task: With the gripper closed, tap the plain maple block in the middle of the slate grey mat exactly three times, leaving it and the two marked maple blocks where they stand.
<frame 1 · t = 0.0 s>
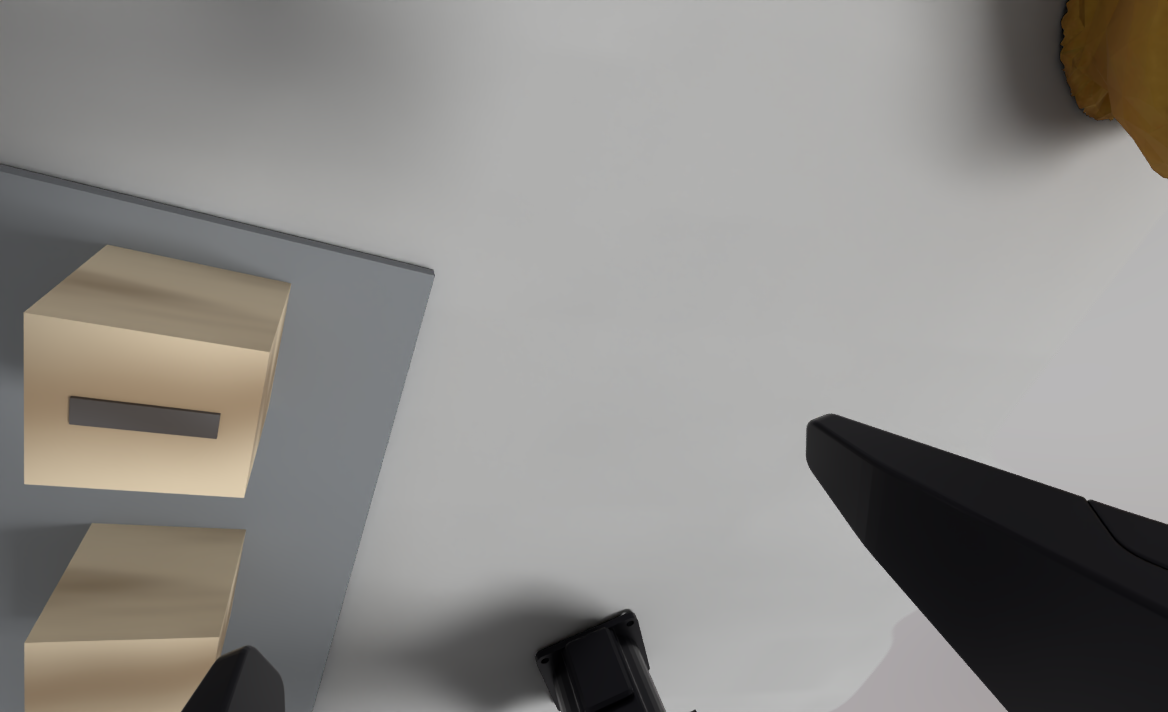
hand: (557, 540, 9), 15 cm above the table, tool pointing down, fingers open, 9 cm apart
mat: (171, 561, 24), on the table
plain block: (167, 573, 23), point 1 cm above the table, touching mat
marked block a: (196, 333, 19), point 1 cm above the table, touching mat
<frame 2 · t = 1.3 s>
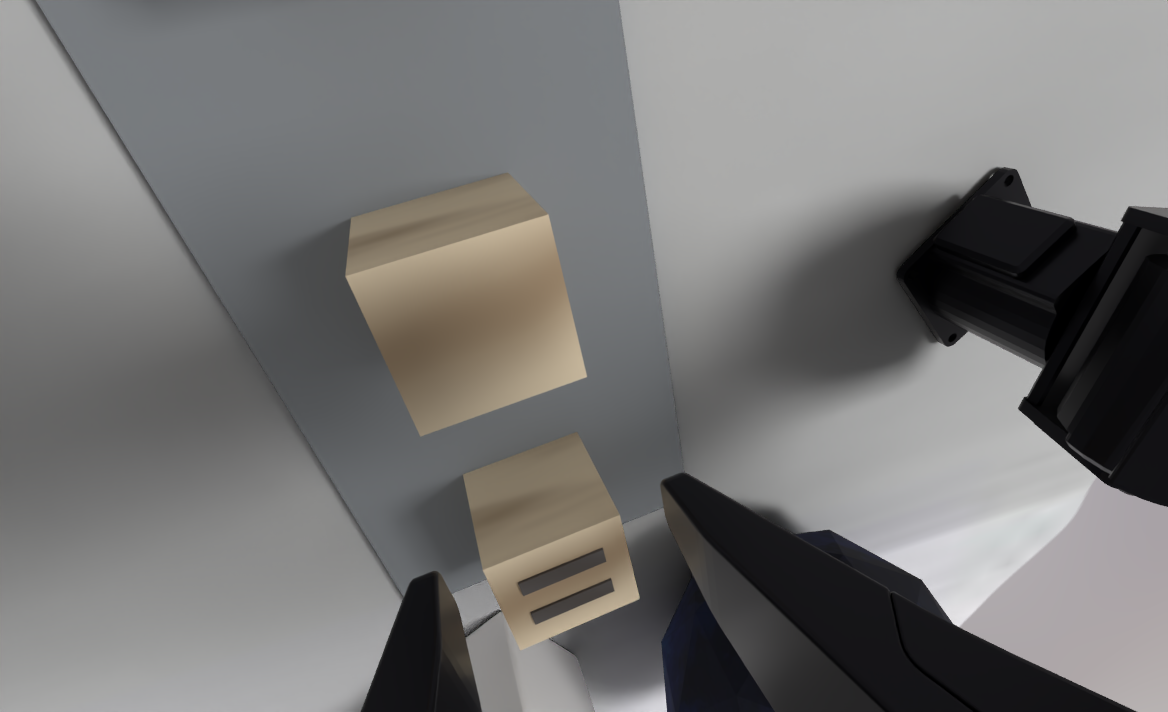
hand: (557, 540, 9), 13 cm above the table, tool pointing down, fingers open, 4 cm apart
mat: (454, 261, 20), on the table
marked block b: (535, 494, 25), point 1 cm above the table, touching mat
medicine bottle: (490, 666, 31), on the table
plain block: (456, 267, 19), point 1 cm above the table, touching mat
decorative orb: (734, 570, 34), on the table
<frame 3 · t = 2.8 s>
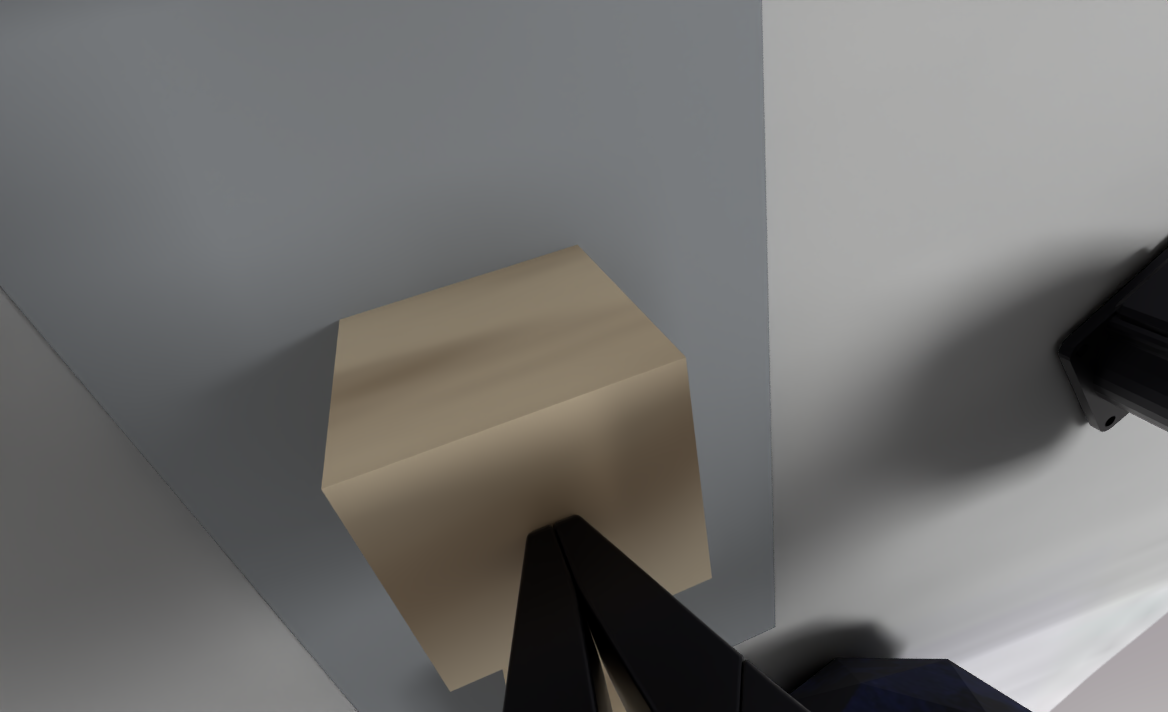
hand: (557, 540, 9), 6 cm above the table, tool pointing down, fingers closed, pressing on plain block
mat: (491, 366, 13), on the table
marked block b: (588, 644, 19), point 1 cm above the table, touching mat
plain block: (496, 379, 13), point 1 cm above the table, touching gripper, mat
decorative orb: (814, 689, 28), on the table
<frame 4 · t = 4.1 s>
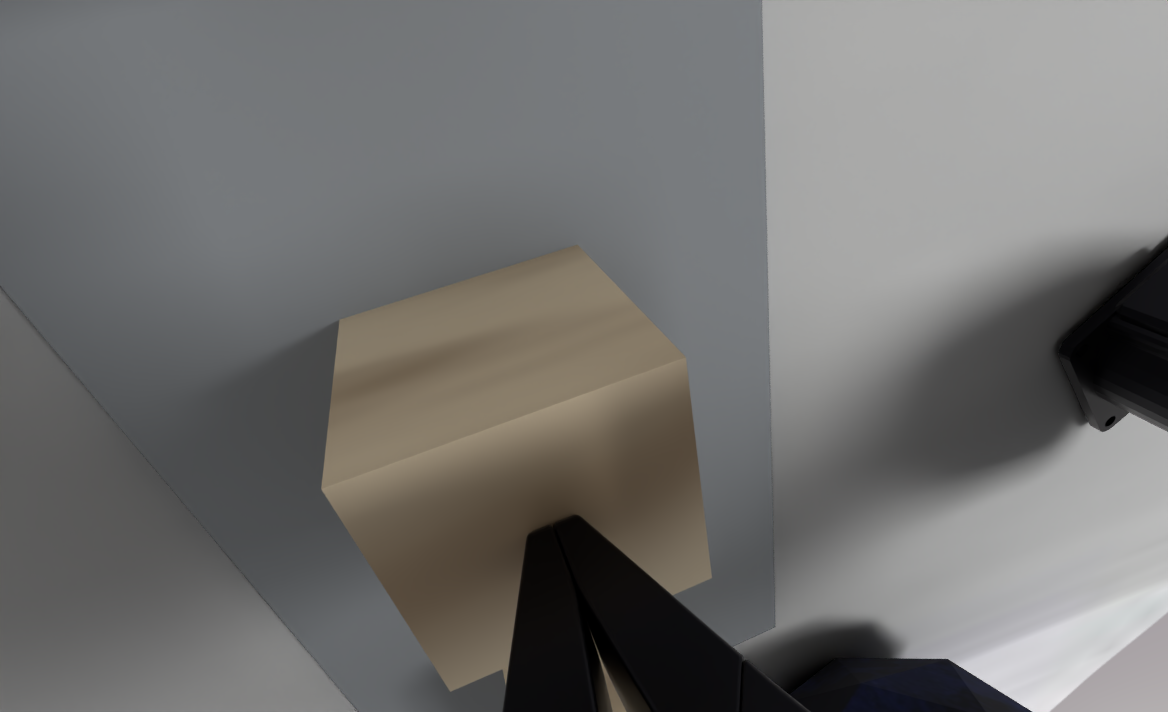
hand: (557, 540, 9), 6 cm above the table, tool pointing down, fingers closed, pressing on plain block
mat: (491, 366, 13), on the table
marked block b: (588, 644, 19), point 1 cm above the table, touching mat
plain block: (496, 378, 13), point 1 cm above the table, touching gripper, mat
decorative orb: (814, 689, 28), on the table
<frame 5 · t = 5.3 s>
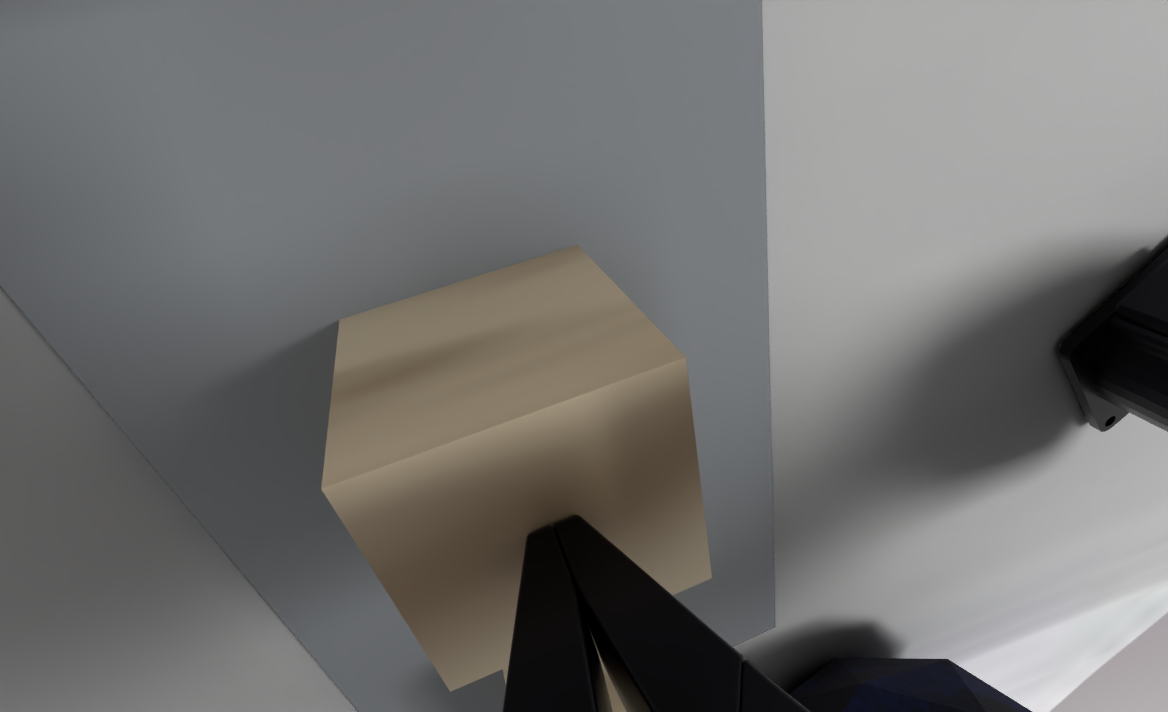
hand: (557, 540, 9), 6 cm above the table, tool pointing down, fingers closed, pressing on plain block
mat: (491, 366, 13), on the table
marked block b: (588, 644, 19), point 1 cm above the table, touching mat
plain block: (496, 378, 13), point 1 cm above the table, touching gripper, mat
decorative orb: (814, 689, 28), on the table
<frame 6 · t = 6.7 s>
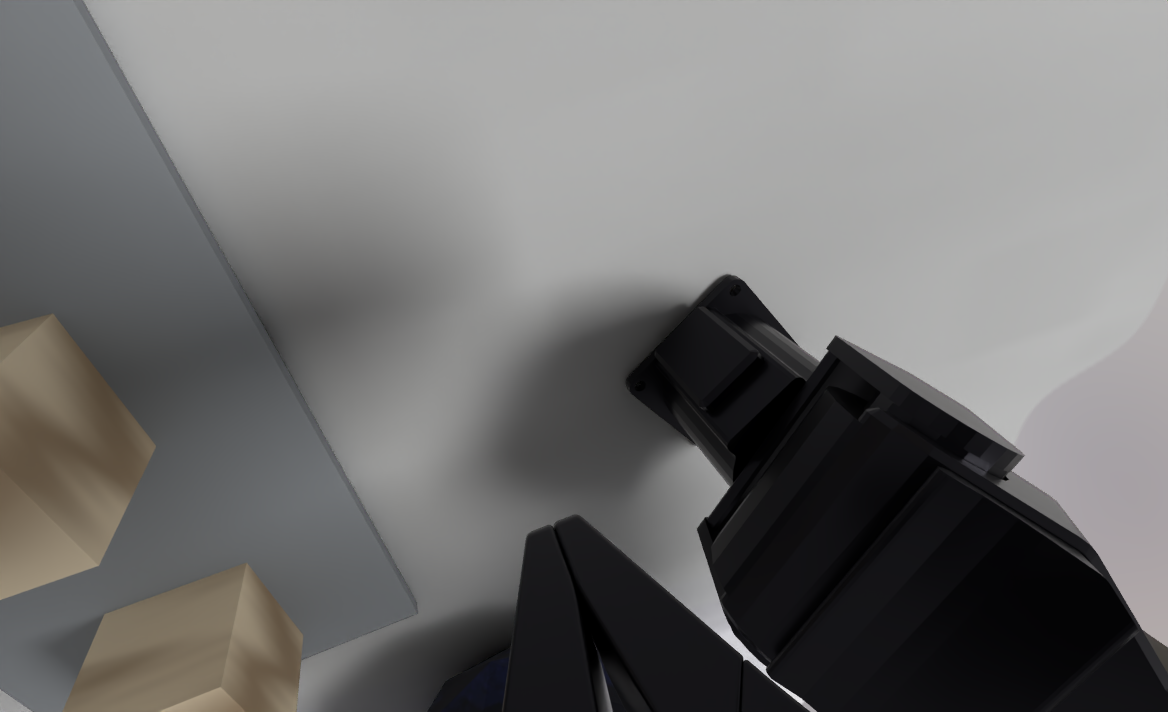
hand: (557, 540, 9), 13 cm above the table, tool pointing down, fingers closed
mat: (25, 401, 17), on the table
marked block b: (211, 625, 23), point 1 cm above the table, touching mat
plain block: (15, 412, 17), point 1 cm above the table, touching mat
decorative orb: (512, 670, 32), on the table
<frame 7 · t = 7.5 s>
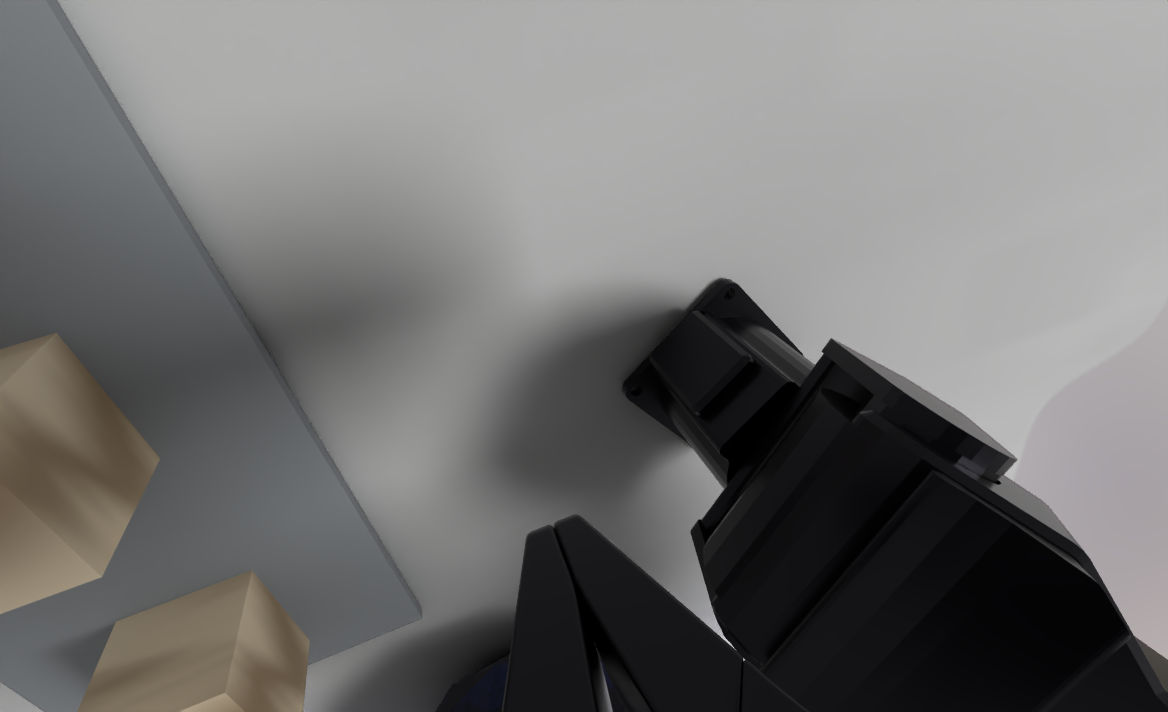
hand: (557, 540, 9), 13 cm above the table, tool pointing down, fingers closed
mat: (34, 417, 18), on the table
marked block b: (220, 631, 23), point 1 cm above the table, touching mat
plain block: (24, 428, 17), point 1 cm above the table, touching mat
decorative orb: (519, 673, 32), on the table
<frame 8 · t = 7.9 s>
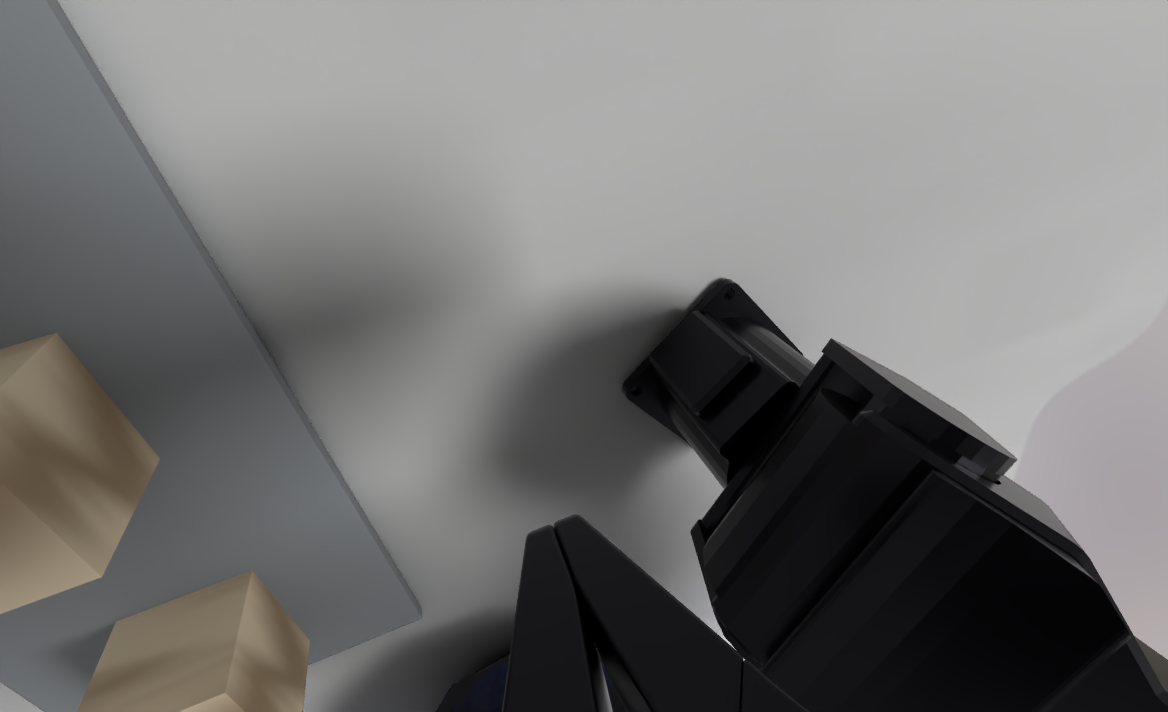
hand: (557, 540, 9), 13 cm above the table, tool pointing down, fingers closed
mat: (34, 417, 18), on the table
marked block b: (220, 631, 23), point 1 cm above the table, touching mat
plain block: (24, 428, 17), point 1 cm above the table, touching mat
decorative orb: (519, 673, 32), on the table
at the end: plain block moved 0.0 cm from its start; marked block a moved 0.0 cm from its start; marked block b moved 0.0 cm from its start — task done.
